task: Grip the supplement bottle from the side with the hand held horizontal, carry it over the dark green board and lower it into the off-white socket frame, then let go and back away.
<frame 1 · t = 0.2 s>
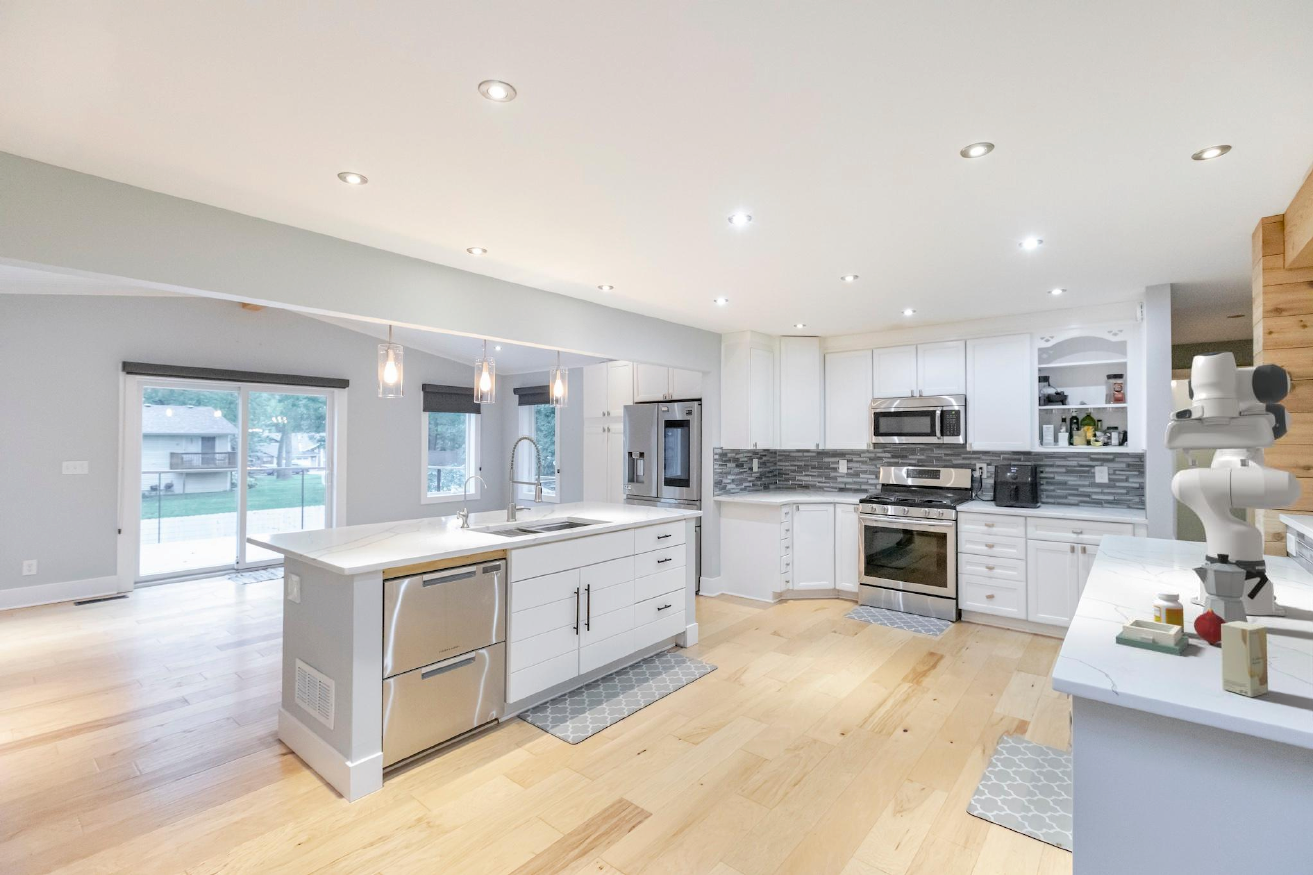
hand: (1218, 466, 149), 40 cm above the countertop, tool pointing down, fingers open, 8 cm apart
supplement bottle: (1169, 633, 143), on the countertop
onion: (1211, 644, 135), on the countertop
skincare box: (1245, 692, 109), on the countertop
coffee maker: (1230, 626, 148), on the countertop
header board: (1152, 643, 136), on the countertop
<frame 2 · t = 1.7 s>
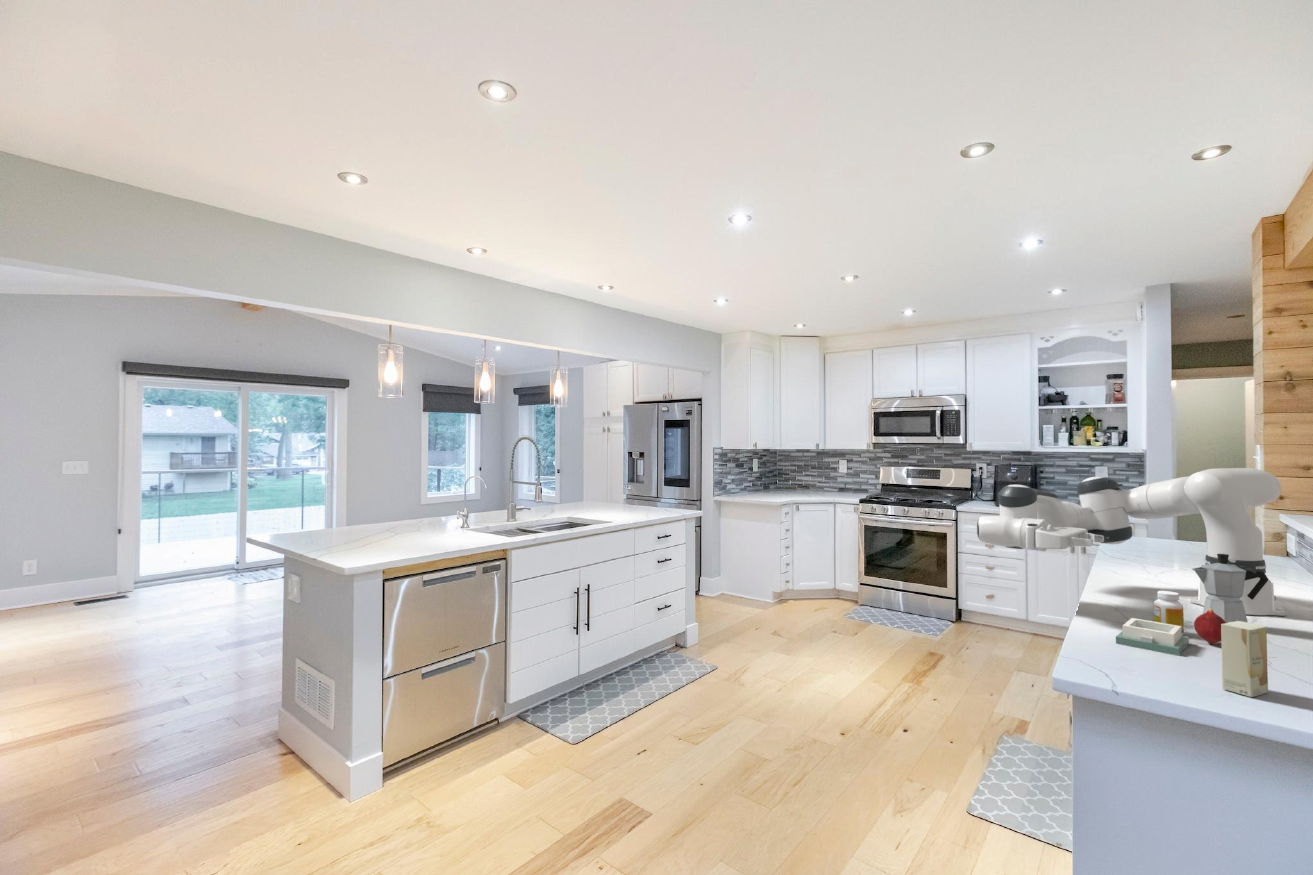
hand: (1097, 541, 155), 21 cm above the countertop, tool horizontal, fingers open, 8 cm apart
nothing on the countertop moved.
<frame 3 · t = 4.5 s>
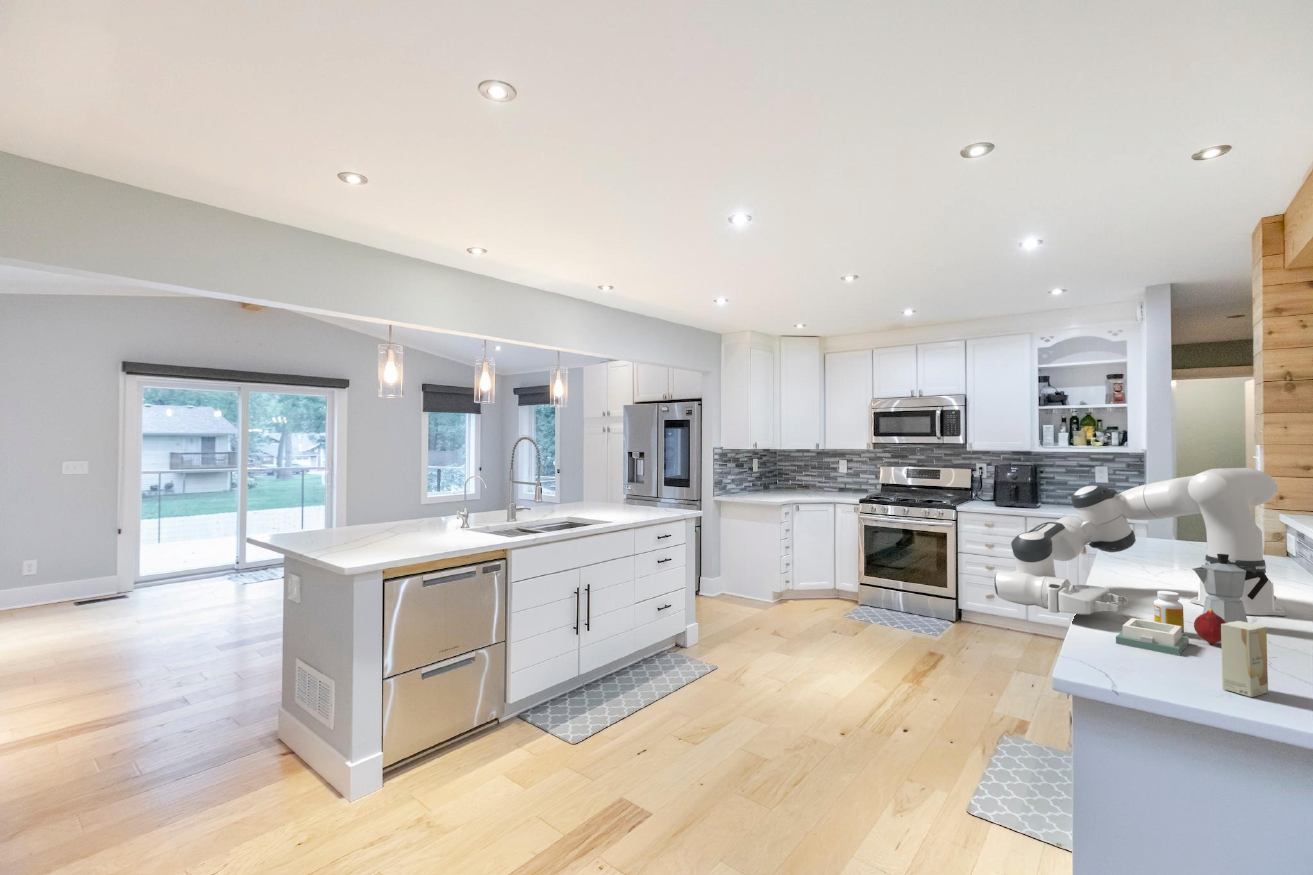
hand: (1122, 604, 150), 5 cm above the countertop, tool horizontal, fingers open, 8 cm apart
nothing on the countertop moved.
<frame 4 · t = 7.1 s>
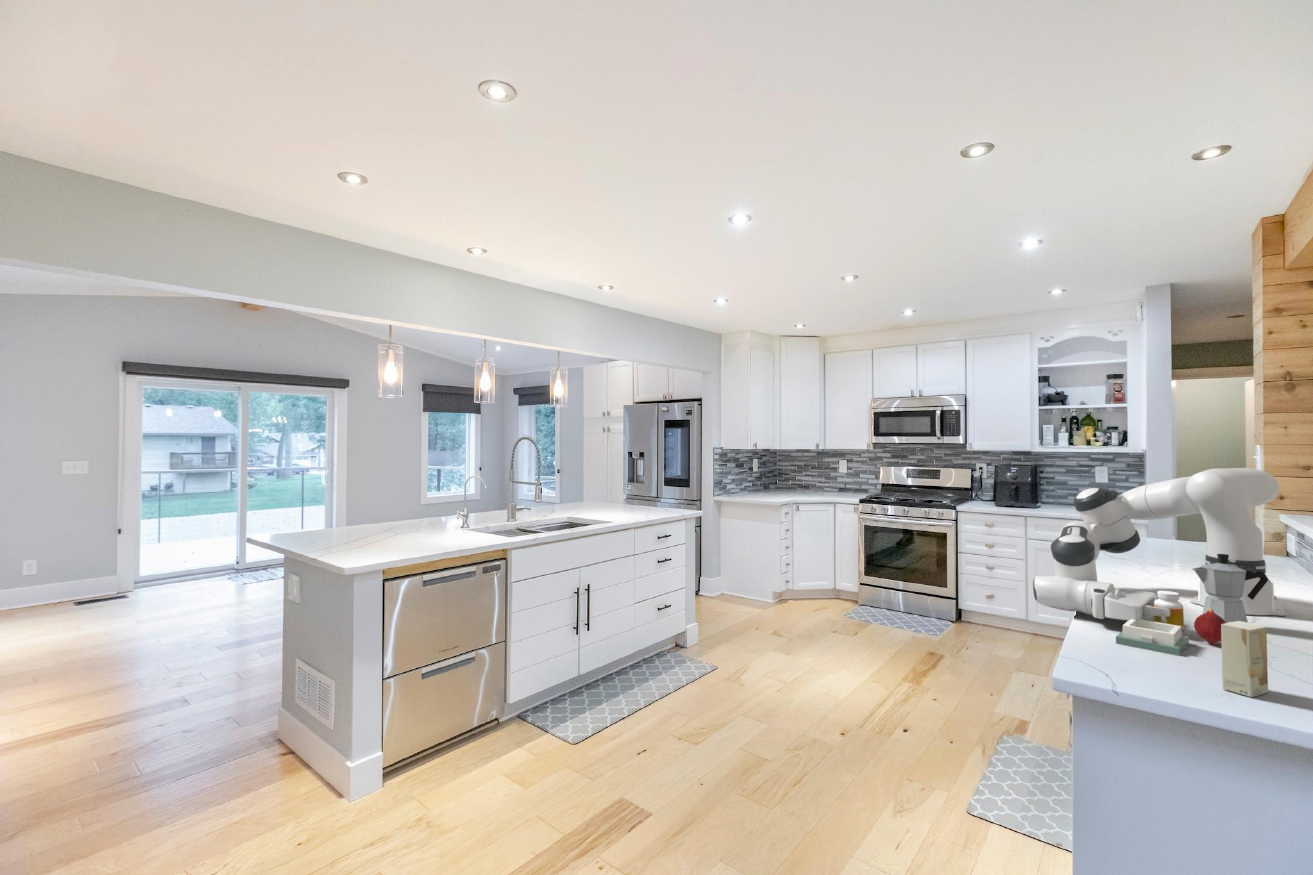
hand: (1173, 610, 143), 6 cm above the countertop, tool horizontal, fingers closed on supplement bottle, 5 cm apart
supplement bottle: (1169, 633, 143), on the countertop, touching gripper
everything else where it was.
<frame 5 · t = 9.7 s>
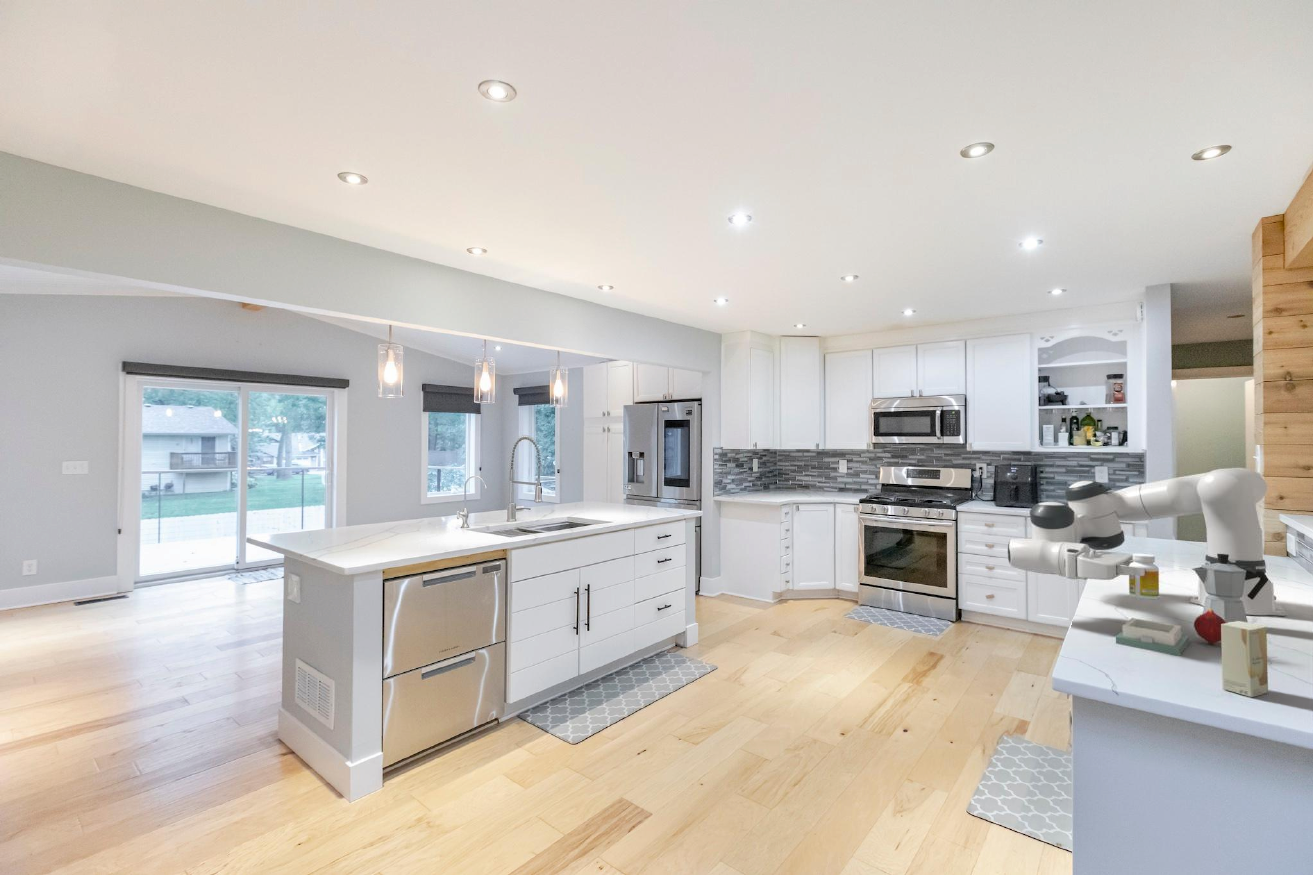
hand: (1148, 569, 137), 17 cm above the countertop, tool horizontal, fingers closed on supplement bottle, 5 cm apart
supplement bottle: (1143, 597, 138), point 10 cm above the countertop, touching gripper
everything else where it was.
when the fingers open (8 cm above the countertop, at t = 12.4 s): supplement bottle stays where it is, resting on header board.
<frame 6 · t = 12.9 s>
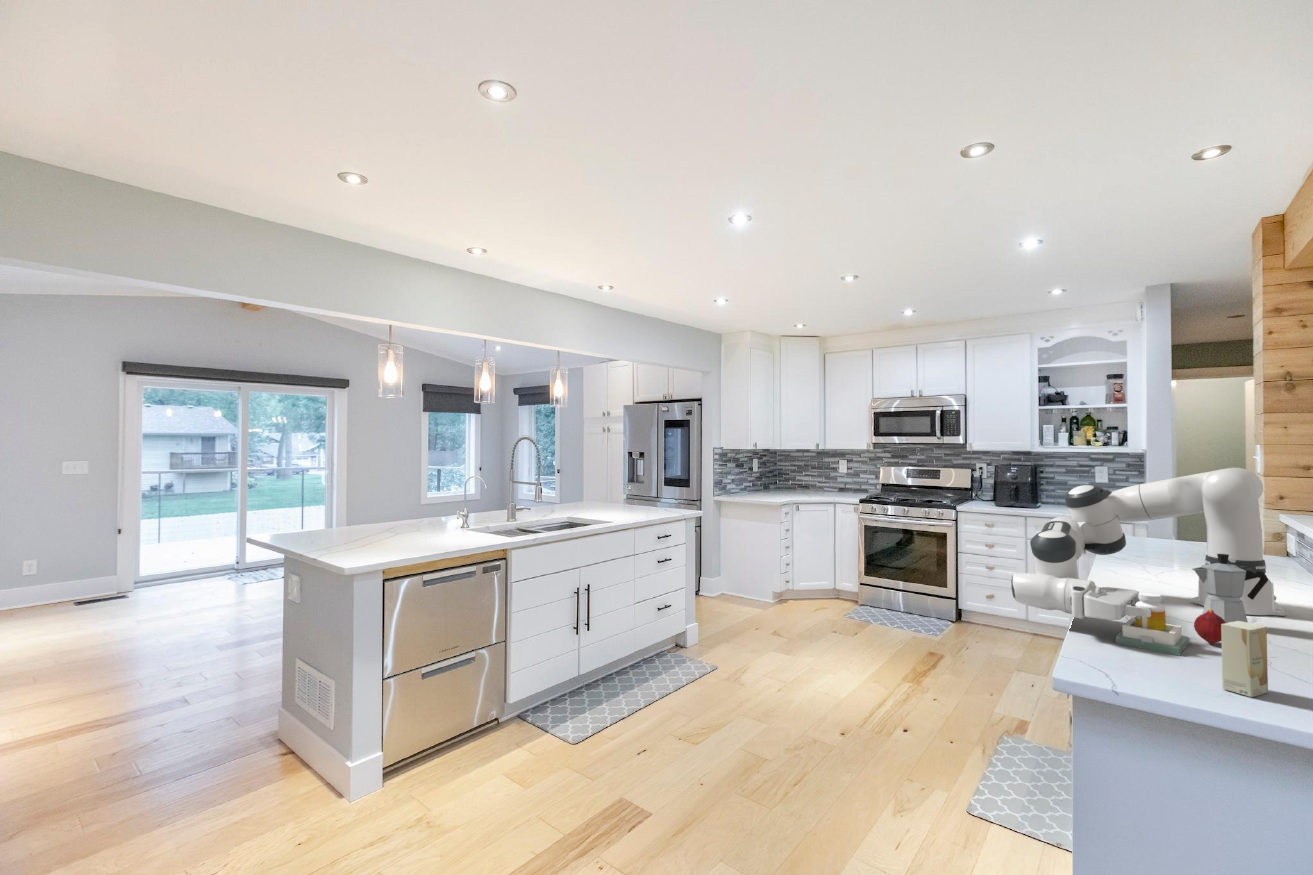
hand: (1156, 609, 135), 8 cm above the countertop, tool horizontal, fingers open, 8 cm apart
supplement bottle: (1150, 637, 136), point 1 cm above the countertop, touching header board
everything else where it was.
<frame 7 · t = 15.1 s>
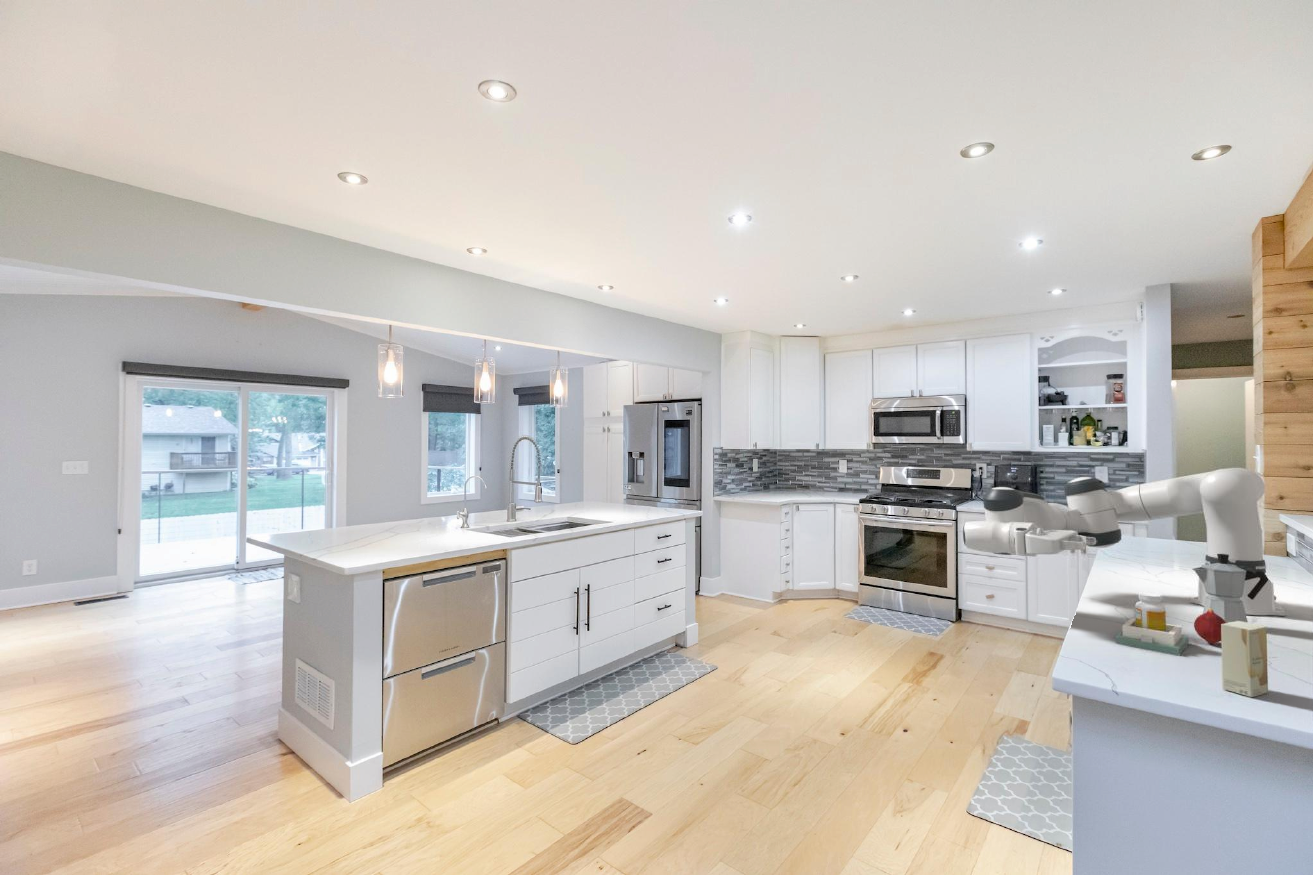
hand: (1090, 543, 146), 21 cm above the countertop, tool horizontal, fingers open, 8 cm apart
nothing on the countertop moved.
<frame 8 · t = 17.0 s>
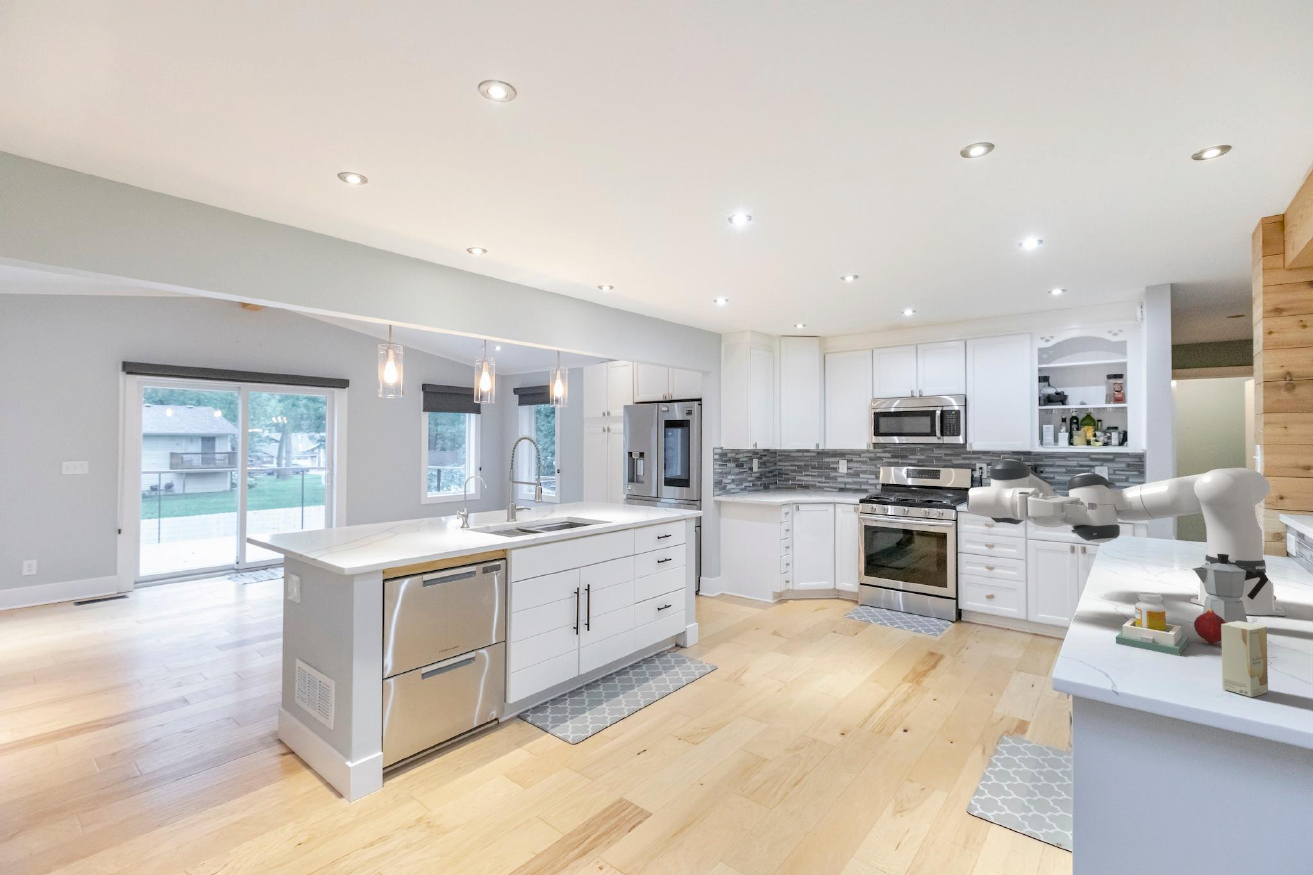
hand: (1091, 507, 149), 30 cm above the countertop, tool horizontal, fingers open, 8 cm apart
nothing on the countertop moved.
at the end: supplement bottle 0.2 cm from the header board (horizontally); supplement bottle tilted 0°; the gripper is holding nothing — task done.
